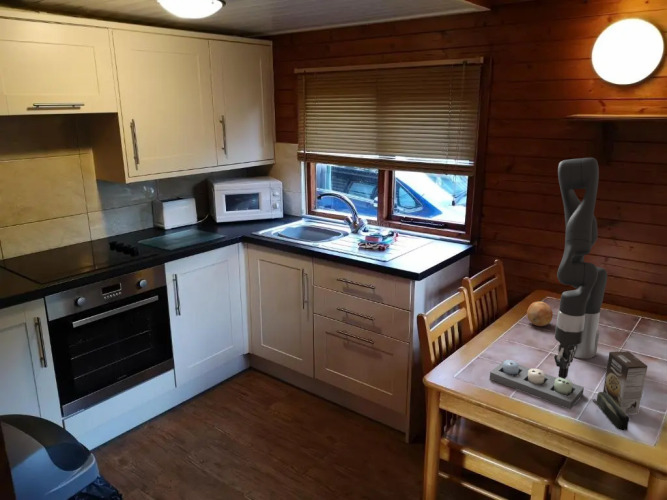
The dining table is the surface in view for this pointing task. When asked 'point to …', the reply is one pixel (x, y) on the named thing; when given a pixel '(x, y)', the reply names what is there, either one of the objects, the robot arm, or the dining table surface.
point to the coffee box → (625, 380)
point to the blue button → (511, 367)
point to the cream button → (536, 376)
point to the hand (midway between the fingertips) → (562, 377)
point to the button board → (537, 386)
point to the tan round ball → (539, 313)
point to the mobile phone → (612, 411)
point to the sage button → (563, 386)
